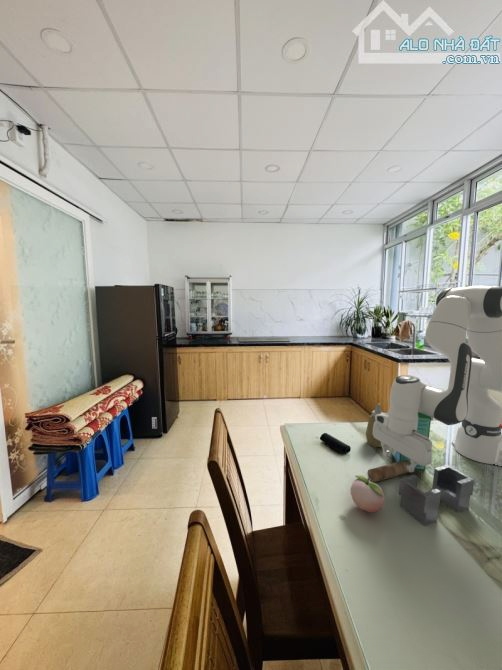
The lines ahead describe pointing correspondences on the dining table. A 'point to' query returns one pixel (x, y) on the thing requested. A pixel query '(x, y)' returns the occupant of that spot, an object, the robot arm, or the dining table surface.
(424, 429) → the milk carton
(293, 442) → the dining table surface
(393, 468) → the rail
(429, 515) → the bracket
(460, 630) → the dining table surface
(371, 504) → the decorative fruit
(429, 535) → the dining table surface
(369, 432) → the squeeze bottle
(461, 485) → the bracket
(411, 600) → the dining table surface
